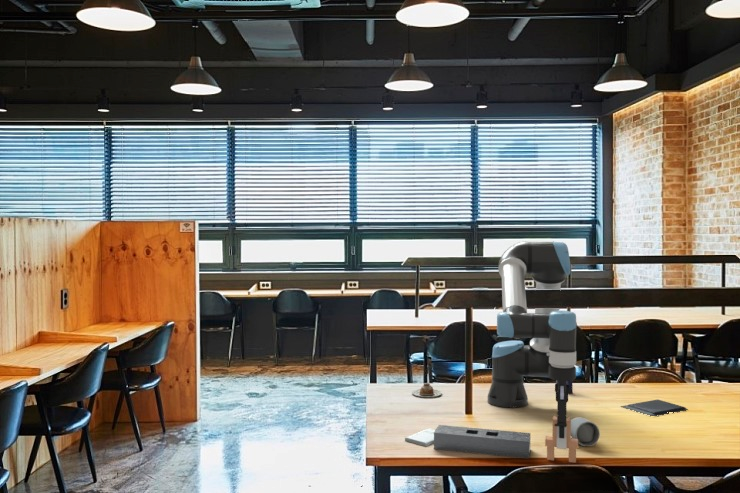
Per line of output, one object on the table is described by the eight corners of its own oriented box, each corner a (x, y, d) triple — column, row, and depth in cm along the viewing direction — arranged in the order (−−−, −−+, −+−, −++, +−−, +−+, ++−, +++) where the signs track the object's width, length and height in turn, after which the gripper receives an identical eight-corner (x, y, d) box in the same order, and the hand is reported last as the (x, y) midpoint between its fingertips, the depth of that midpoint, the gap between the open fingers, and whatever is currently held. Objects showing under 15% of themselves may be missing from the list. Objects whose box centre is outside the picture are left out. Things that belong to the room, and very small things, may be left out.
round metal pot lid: (442, 392, 260) (442, 381, 260) (441, 399, 248) (441, 388, 248) (413, 391, 262) (413, 380, 262) (411, 398, 250) (411, 387, 250)
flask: (554, 388, 264) (554, 363, 263) (560, 388, 265) (560, 362, 264) (568, 394, 255) (569, 367, 255) (574, 393, 256) (575, 367, 256)
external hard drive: (404, 442, 199) (427, 432, 209) (426, 448, 194) (448, 437, 203) (404, 437, 199) (427, 427, 209) (426, 442, 194) (448, 432, 203)
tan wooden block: (545, 456, 185) (545, 415, 185) (577, 459, 183) (578, 418, 182) (545, 459, 183) (545, 418, 182) (577, 463, 180) (578, 421, 180)
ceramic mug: (588, 437, 202) (588, 413, 202) (600, 446, 194) (600, 421, 194) (556, 439, 201) (556, 415, 201) (566, 448, 193) (566, 423, 193)
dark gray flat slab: (652, 413, 224) (618, 403, 238) (652, 419, 224) (618, 408, 238) (691, 407, 232) (656, 397, 246) (691, 412, 232) (656, 401, 246)
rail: (438, 440, 199) (438, 424, 199) (530, 449, 191) (530, 433, 191) (433, 448, 192) (433, 432, 191) (529, 458, 183) (529, 441, 183)
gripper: (549, 358, 191) (548, 434, 192) (548, 370, 175) (547, 454, 175) (575, 359, 189) (574, 437, 190) (576, 372, 172) (575, 457, 173)
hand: (561, 445), depth 183 cm, fingers open, 4 cm apart
